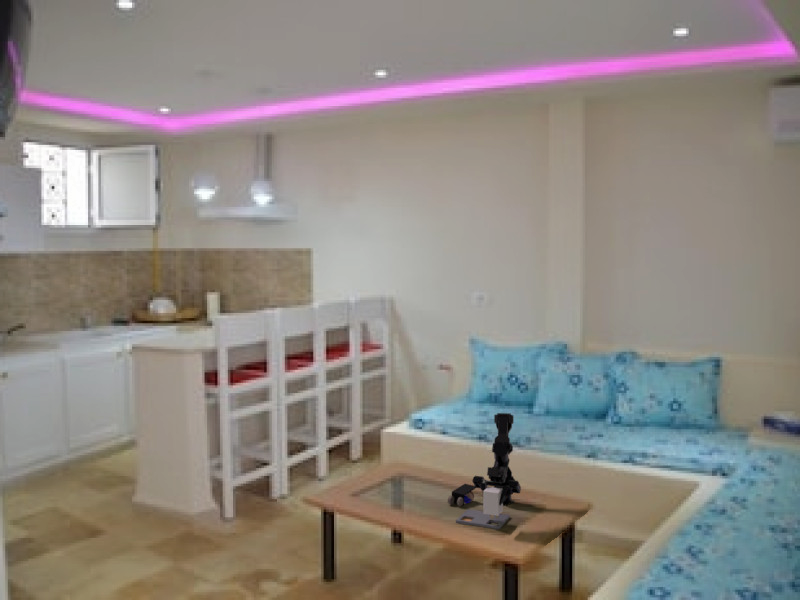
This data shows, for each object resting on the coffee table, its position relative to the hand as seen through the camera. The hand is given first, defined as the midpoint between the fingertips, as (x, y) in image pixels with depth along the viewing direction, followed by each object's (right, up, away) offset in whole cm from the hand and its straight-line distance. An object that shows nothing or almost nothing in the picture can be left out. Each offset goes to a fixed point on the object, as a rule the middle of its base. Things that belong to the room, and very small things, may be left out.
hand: (491, 503), depth 279 cm
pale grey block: (+1, -6, +2) cm, 6 cm away
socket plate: (-3, -10, +7) cm, 13 cm away
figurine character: (-9, -9, +30) cm, 33 cm away
